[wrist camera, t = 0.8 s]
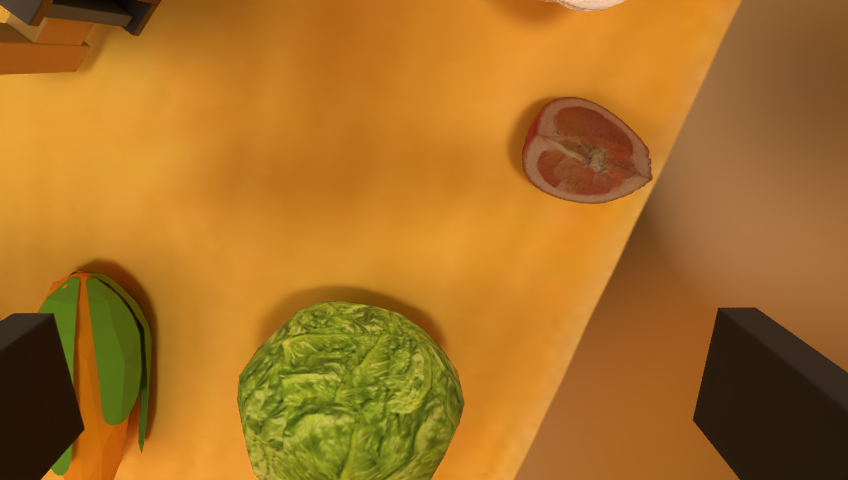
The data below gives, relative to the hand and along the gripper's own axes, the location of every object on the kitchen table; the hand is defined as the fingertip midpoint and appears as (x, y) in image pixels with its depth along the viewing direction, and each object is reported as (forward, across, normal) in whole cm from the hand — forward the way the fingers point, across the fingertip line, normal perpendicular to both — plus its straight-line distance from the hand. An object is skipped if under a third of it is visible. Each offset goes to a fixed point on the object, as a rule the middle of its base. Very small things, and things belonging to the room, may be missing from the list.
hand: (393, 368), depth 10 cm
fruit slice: (+27, +12, 0) cm, 30 cm away
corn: (+27, -23, -18) cm, 40 cm away
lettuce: (+27, -5, -22) cm, 35 cm away
